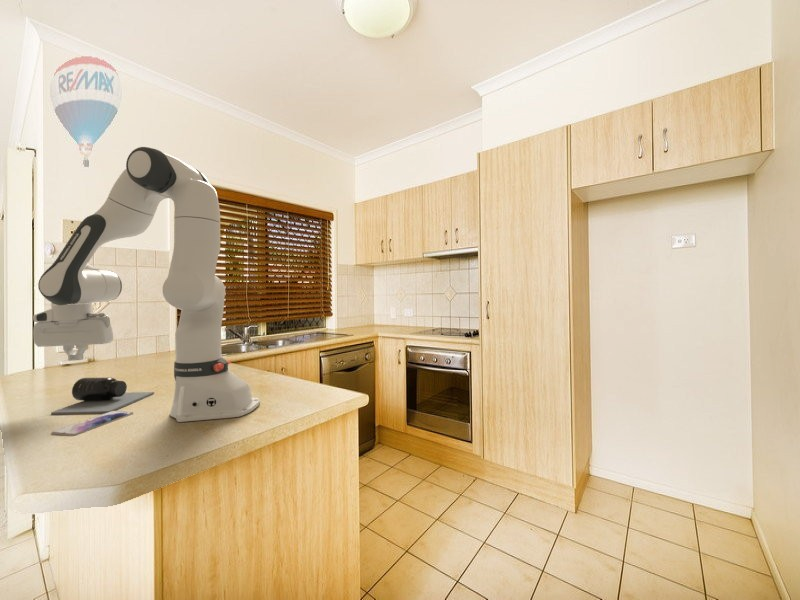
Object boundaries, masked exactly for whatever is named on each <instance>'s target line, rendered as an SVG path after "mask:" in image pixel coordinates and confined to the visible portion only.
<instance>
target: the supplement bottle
mask: <svg viewBox="0 0 800 600" xmlns="http://www.w3.org/2000/svg"><path fill="white" fill-rule="evenodd" d="M127 385H128V384H127V383H126V382H125V380H117V378H114V377H82V378H80V379H78V380H76V382H75V383H74V384H73V386H72V388H71V395H72V397H73V398H74V399H75V400H77V401H79V402H82V401H103V400H110V399H112V398H113V397H121V396H122V395H124V394H125V393H127V392H126V391H127V387H128V386H127Z"/></svg>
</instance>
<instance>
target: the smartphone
mask: <svg viewBox="0 0 800 600" xmlns="http://www.w3.org/2000/svg"><path fill="white" fill-rule="evenodd" d="M131 415H134V412H133V411H122V410H116V411H111V412H108V413H101V414H100V415H97V416H93V417H91V418H88V419H85V420H82V421H79V422H76V423H73V424H70V425H67V426H65V427H61V428H59V429H56V430H53V431H52V432H51V435H52V434H53V435H55V436H65V437H75V436H79V435H81V434H84V433H86V432H89V431H92V430H94V429H97V428H100V427H103V426H105V425H107V424H111V423H112V422H116V421H118V420H121V419H123V418H127V417H128V416H131ZM53 435H52V436H53Z"/></svg>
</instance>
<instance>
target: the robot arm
mask: <svg viewBox="0 0 800 600" xmlns="http://www.w3.org/2000/svg"><path fill="white" fill-rule="evenodd" d="M107 195H108V196H107V198H106V200H105V202H104V203H103V204H102V206H101V207H100V208H98V210H97V211H96V212H94V213H93V214H91V215H89V216H87V217H85V218H84V219H83V220H82V221H81V222H80V224H79V225H78V226H77V228H76V229H75V231H73V233H72V235H71V237H70V238H69V239H68V241H67V243H66V244H65V246H64V247H63V248H62V249H61V251H60V253H59V255H58V256H57V257H56V259H55V261H54V262H53V263H52V264H51V265H50V266H49V267H48V268H47V269H46V270H45V271H44V272H43V273H42V274H41V276H40V278H39V280H38V283H37V284H38V290H39V293H40V294H41V296H42V297H43V298H45V300H46V301H49V302H50V304H51V306H50V307H51V308H50V309H47V310H45V311H42V312H38V313H36V314H34V315H33V317H32V319H33V322H35V323H34V326H33V328H32V329H33V332H32V333H33V335H32V336H33V343H34V344H35V346H37V347H38V348H41V347H62V349H63V351H64V353H65V355H67V360H68V361H70V362H71V361H82V360H84V354H85V352H86V350H87V349H88V345H105V344H110V343H112V342H113V340H114V333H113V328H112V323H111V317H110V316H109V315H107V314H105V313H104V312H99V313H97V312H96V313H94V310H93V309H94V307H93V303H104V302H110V301H115V300H116V299H117V298H119V296H120V294H121V293H122V290H123V283H122V280H121V278H120V276H119V275H118V274H117V273H116V272H114V271H111V270H107V269H103V268H99V267H96V266H93V265H91V264H90V261H91V259H92V258H93V256H94V255H95V253H96V252H97V250H98V249H99V248H100V247H101V246H103V245H105V244H106V243H109V242H112V241H114V240H120V239H125V238H131V237H132V238H133V237H135V236H138V235H141V234H143V233H144V232H145V231H147V229H148V228H149V226H151V223H152V221H153V219H154V217H155V214H156V212H157V210H158V206H159V205H160V203H161V202H162V201H163V200H165V199H170V200H172V201H173V205H174V215H173V222H174V223H173V227H174V228H173V230H174V231H173V250H172V256H171V260H170V264H169V269H168V274H167V277H166V279H165V280H164V282H163V285H162V295H163V298H164V299H165V301H166V302H167V303H168V304H169V305H171V306H172V307H174V308H175V309H177V310H181V311H180V316H179V321H178V325H177V328H176V331H175V339H174V341H175V342H174V343H175V361H174V363H173V377H174V381H175V383H174V384H175V385H174V386H175V387H174V396H173V401H172V405H171V409H170V412H169V416H170V417H172V418H175V419H176V422H178V423H184V422H193V421H194V422H196V421H205V420H206V421H207V420H217V419H218V420H219V419H228V418H230V419H231V418H239V417H242V416H244V415H245V416H246V415H247V414H249V413H251V412H252V411H254V410H255V409H257V407H259V406H260V398H258V397H254V396H252V391H251V387H250V385H249V383H248V382H247V381H246V380H244V379H242V378H241V377H239V376H237V375H236V374H235V373H233V372H232V371H230V370H229V365H231V359H228V360H227V359H225V358H223V357H222V323H223V316H224V309H225V307H224V306H225V297H226V286H225V284H224V283H223V281H222V280H221V278H219V277H218V276H217V275H216V270H217V264H218V258H219V256H220V255H219V254H220V252H221V211H220V203H219V198H218V193H217V191H216V189H215V187H213V186H212V185H211V184H210V182H209V180H208V178H207V177H206V176H205V175H204V174H203V173H202V171H199V170H197V169H196V168H193V167H192V166H191V165H189V164H187V163H186V162H183V161H182V160H180V159H179V158H177V157H174V156H172V155H170V154H167V153H164V152H162V151H161V150H159V149H156V148H152V147H147V146H140V147H139V146H138V147H137V148H135V149H133V150H131V152H130V153H129V154H128V156H127V159H126V163H125V169H124V170H123V171H122V172H121V174H120V175H119V177H118V178H117V179H116V180H115V182H114V183H113V186H112V187H111V189H110V191H109V193H108V194H107ZM74 349H76V350H77V351H76V352H75V350H74Z"/></svg>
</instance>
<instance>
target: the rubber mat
mask: <svg viewBox="0 0 800 600" xmlns="http://www.w3.org/2000/svg"><path fill="white" fill-rule="evenodd" d="M152 395H155V391H148V392H147V391H144V392H143V391H141V392H137V391H135V392H133V391H132V392H125V394H124V395H122V396H121V397H113V398H112V399H110V400H103V401H79V402H76V403H74V404H71V405H68V406H65V407H61V408H60V409H57V410H53V411H51V413H50V415H55V416H56V415H83V414H84V415H85V414H87V415H89V414H92V415H93V414H105V413H108V412H111V411H119V410H120V409H123V408H125V407H127V406H129V405H132V404H134V403H137V402H138V401H141V400H144V399H145V398H148V397H151V396H152Z"/></svg>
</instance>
